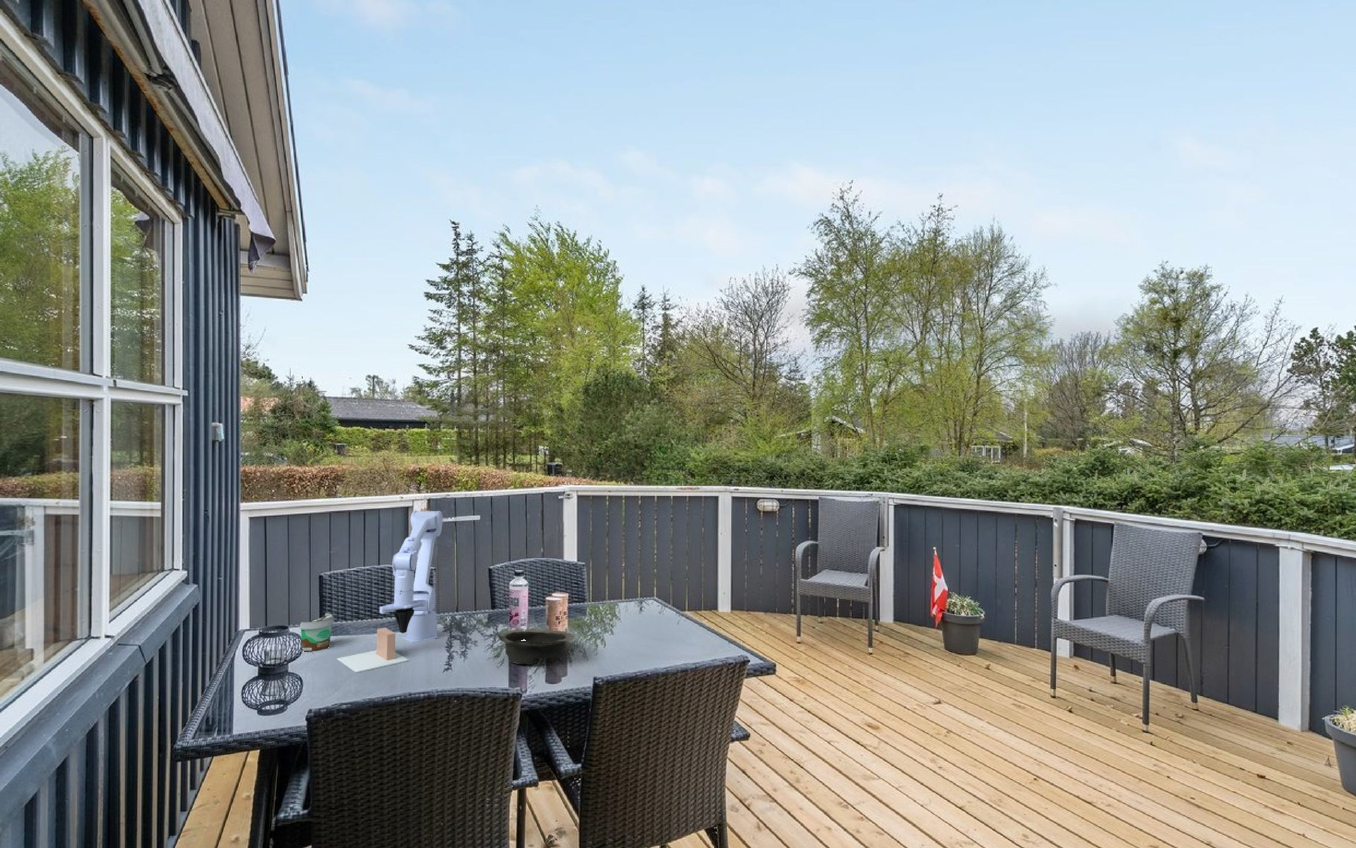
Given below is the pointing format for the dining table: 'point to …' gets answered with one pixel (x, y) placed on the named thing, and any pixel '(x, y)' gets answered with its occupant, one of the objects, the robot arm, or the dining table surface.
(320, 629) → the food container
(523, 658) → the stone bowl
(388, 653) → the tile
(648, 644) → the dining table surface
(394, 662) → the mat
